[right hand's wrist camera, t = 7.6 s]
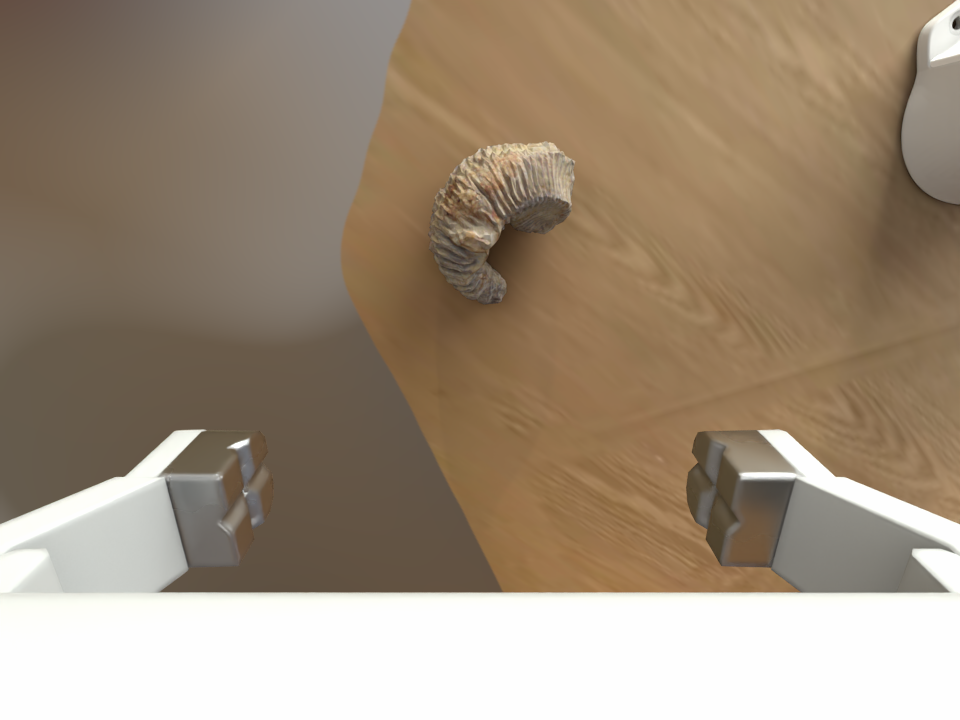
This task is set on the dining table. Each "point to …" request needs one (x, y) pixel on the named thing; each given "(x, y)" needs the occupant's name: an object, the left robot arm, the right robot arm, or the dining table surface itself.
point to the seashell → (496, 210)
